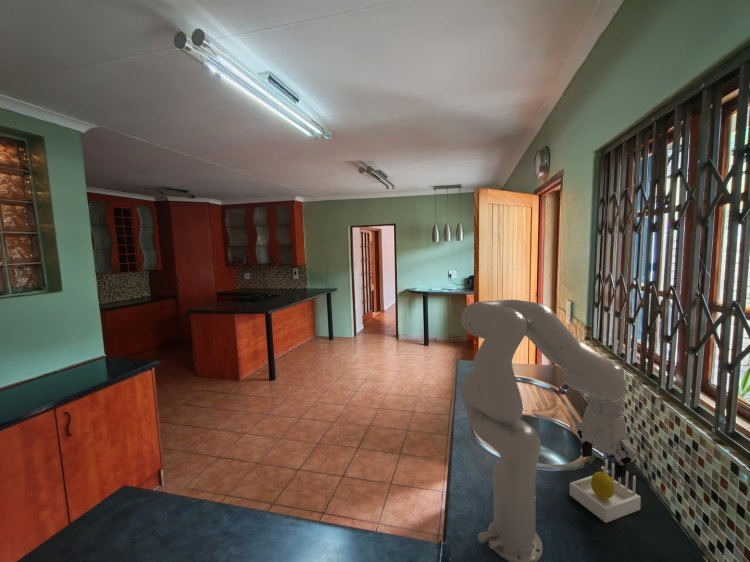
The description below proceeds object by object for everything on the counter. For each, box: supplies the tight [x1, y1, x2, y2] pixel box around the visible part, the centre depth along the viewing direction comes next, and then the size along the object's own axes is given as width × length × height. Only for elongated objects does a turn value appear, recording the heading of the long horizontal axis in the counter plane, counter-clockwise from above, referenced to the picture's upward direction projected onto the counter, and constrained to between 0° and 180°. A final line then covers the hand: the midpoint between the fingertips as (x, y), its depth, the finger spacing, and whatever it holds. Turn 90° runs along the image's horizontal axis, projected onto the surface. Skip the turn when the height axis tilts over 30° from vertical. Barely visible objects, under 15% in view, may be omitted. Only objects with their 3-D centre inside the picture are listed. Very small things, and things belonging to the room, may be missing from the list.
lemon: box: [591, 471, 615, 499], centre depth 95 cm, size 6×6×8 cm
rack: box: [569, 458, 642, 524], centre depth 95 cm, size 13×11×9 cm
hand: (602, 465), depth 94 cm, fingers open, 9 cm apart
